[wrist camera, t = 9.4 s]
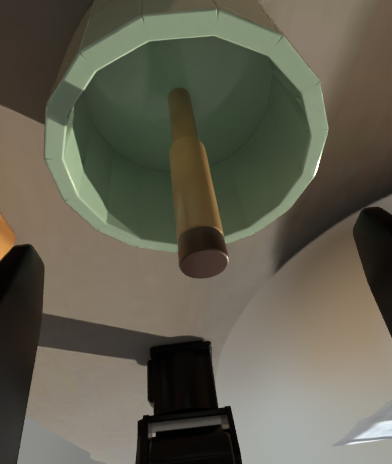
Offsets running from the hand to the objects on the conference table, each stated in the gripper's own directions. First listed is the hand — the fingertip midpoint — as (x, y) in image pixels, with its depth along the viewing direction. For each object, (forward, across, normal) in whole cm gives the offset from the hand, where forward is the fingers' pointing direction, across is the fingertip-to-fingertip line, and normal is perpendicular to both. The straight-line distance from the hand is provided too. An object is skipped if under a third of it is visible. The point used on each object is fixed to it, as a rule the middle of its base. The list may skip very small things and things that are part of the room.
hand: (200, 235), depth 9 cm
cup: (+9, 0, 0) cm, 9 cm away
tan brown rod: (+8, 0, 0) cm, 8 cm away
